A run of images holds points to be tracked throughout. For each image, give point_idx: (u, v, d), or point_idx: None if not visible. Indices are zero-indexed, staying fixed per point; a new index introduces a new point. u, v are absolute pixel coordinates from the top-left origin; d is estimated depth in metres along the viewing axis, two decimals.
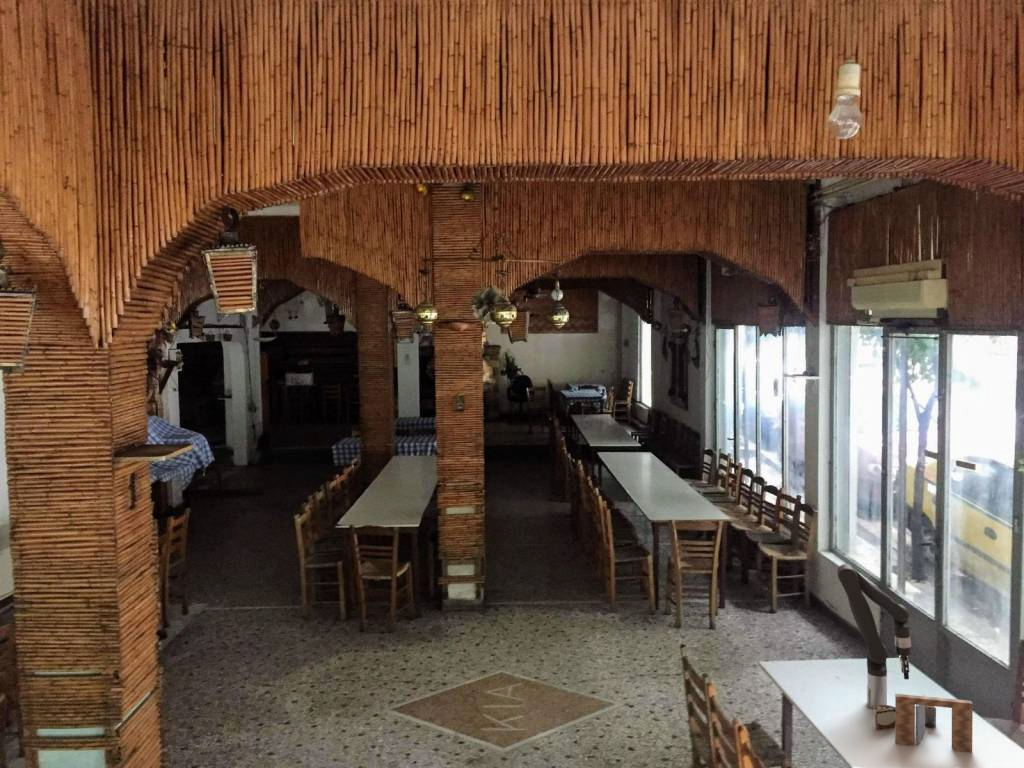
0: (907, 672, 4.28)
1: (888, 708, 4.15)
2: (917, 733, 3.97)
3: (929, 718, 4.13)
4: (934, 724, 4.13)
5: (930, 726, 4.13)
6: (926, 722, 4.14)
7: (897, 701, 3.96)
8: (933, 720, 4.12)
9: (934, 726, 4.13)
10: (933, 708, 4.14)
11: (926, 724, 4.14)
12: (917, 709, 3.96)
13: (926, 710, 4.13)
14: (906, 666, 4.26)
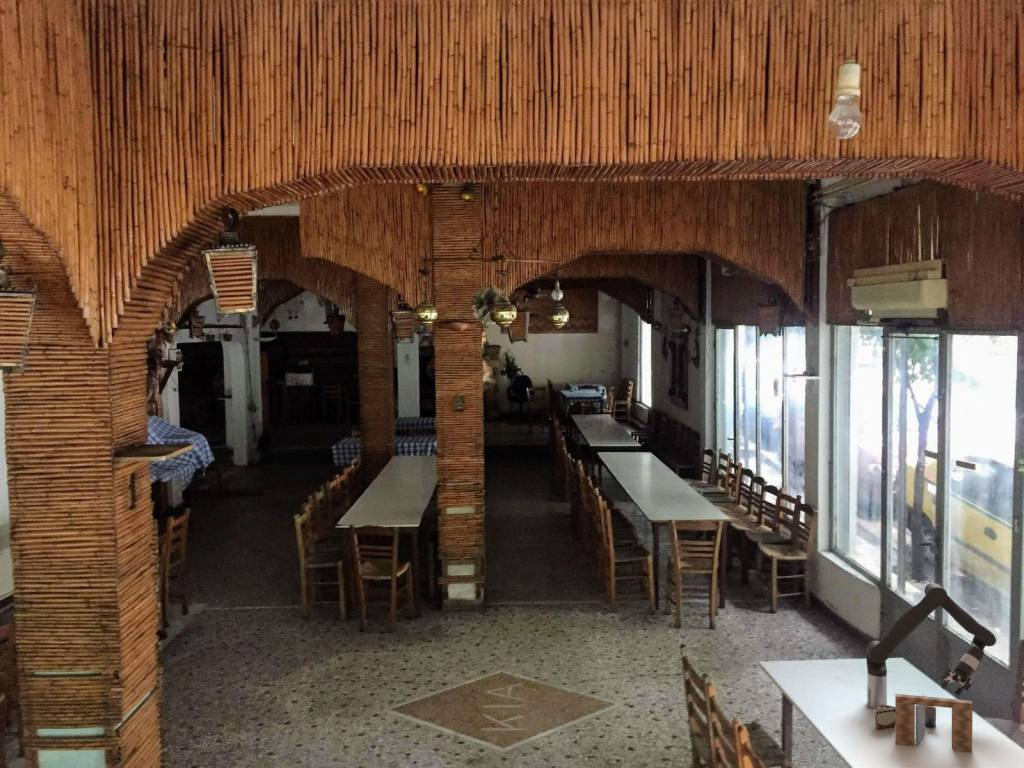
0: (963, 690, 4.13)
1: (888, 708, 4.15)
2: (917, 733, 3.97)
3: (929, 718, 4.13)
4: (934, 724, 4.13)
5: (930, 726, 4.13)
6: (926, 722, 4.14)
7: (897, 701, 3.96)
8: (933, 720, 4.12)
9: (934, 726, 4.13)
10: (933, 708, 4.14)
11: (926, 724, 4.14)
12: (917, 709, 3.96)
13: (926, 710, 4.13)
14: (969, 684, 4.13)
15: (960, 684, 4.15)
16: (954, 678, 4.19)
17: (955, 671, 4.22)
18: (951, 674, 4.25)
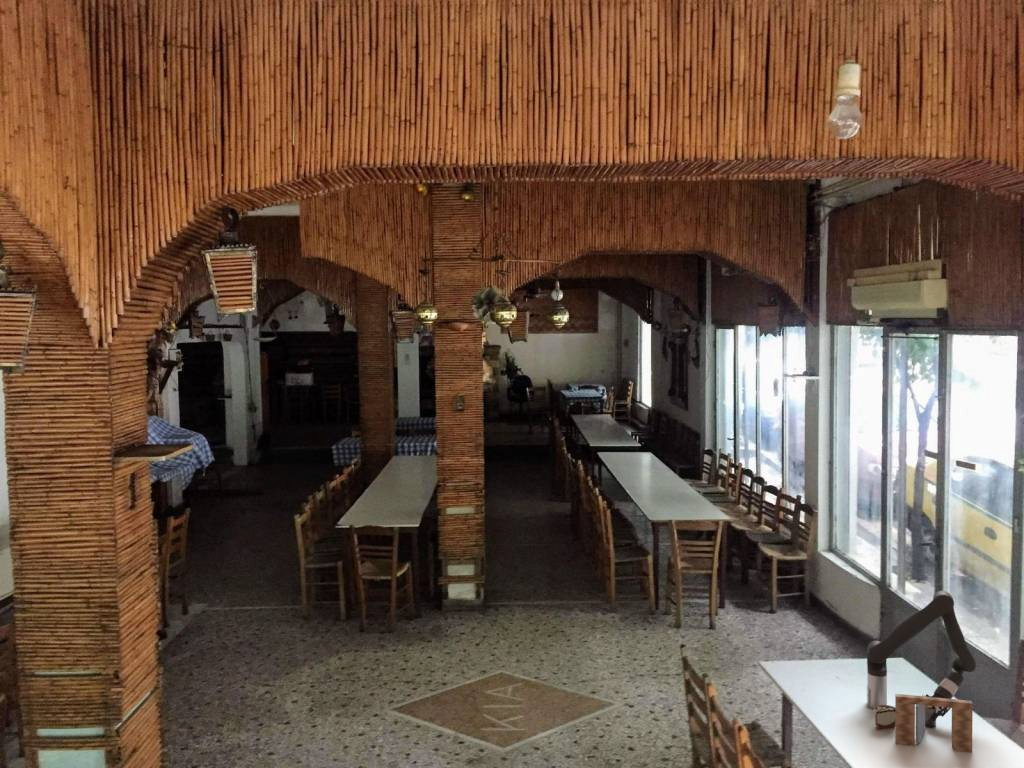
0: (938, 715, 4.11)
1: (888, 708, 4.15)
2: (917, 733, 3.97)
3: (929, 718, 4.13)
4: (934, 724, 4.13)
5: (930, 726, 4.13)
6: (926, 722, 4.14)
7: (897, 701, 3.96)
8: None
9: (934, 726, 4.13)
10: (933, 708, 4.14)
11: (926, 724, 4.14)
12: (917, 709, 3.96)
13: (926, 710, 4.13)
14: (945, 711, 4.10)
15: (936, 709, 4.12)
16: None
17: (934, 696, 4.19)
18: None
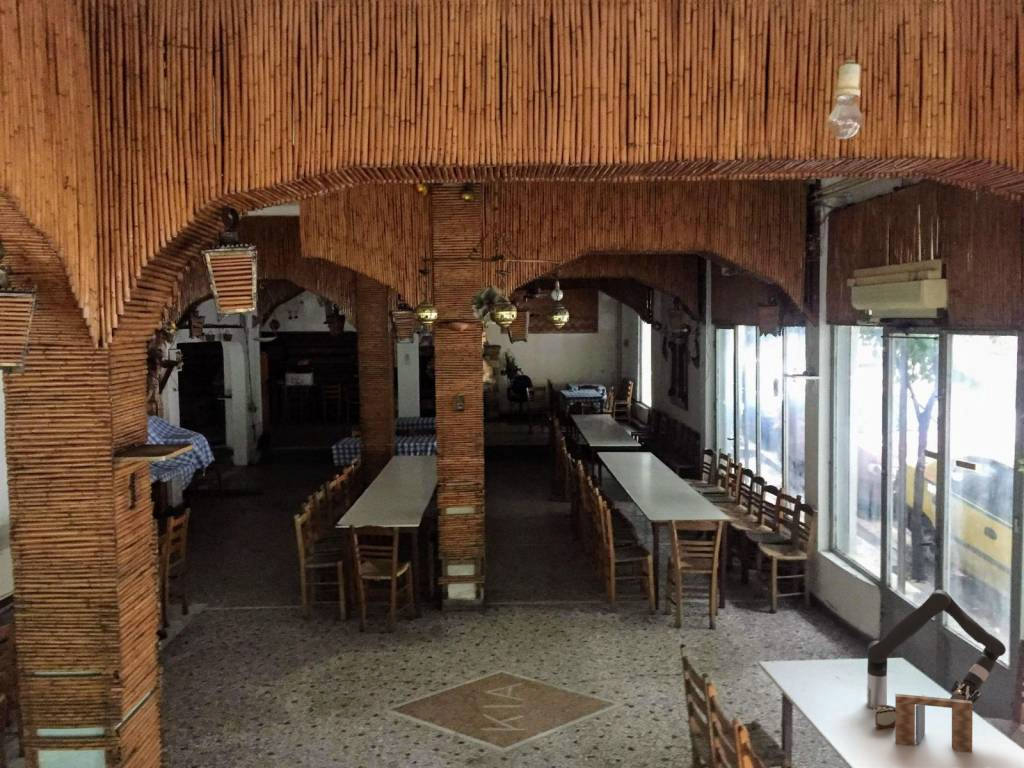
0: None
1: (888, 708, 4.15)
2: (917, 733, 3.97)
3: None
4: None
5: None
6: None
7: (897, 701, 3.96)
8: None
9: None
10: (963, 694, 4.02)
11: None
12: (917, 709, 3.96)
13: (956, 697, 4.01)
14: (976, 697, 3.97)
15: (967, 696, 4.00)
16: (964, 690, 4.04)
17: (963, 682, 4.06)
18: (959, 686, 4.09)
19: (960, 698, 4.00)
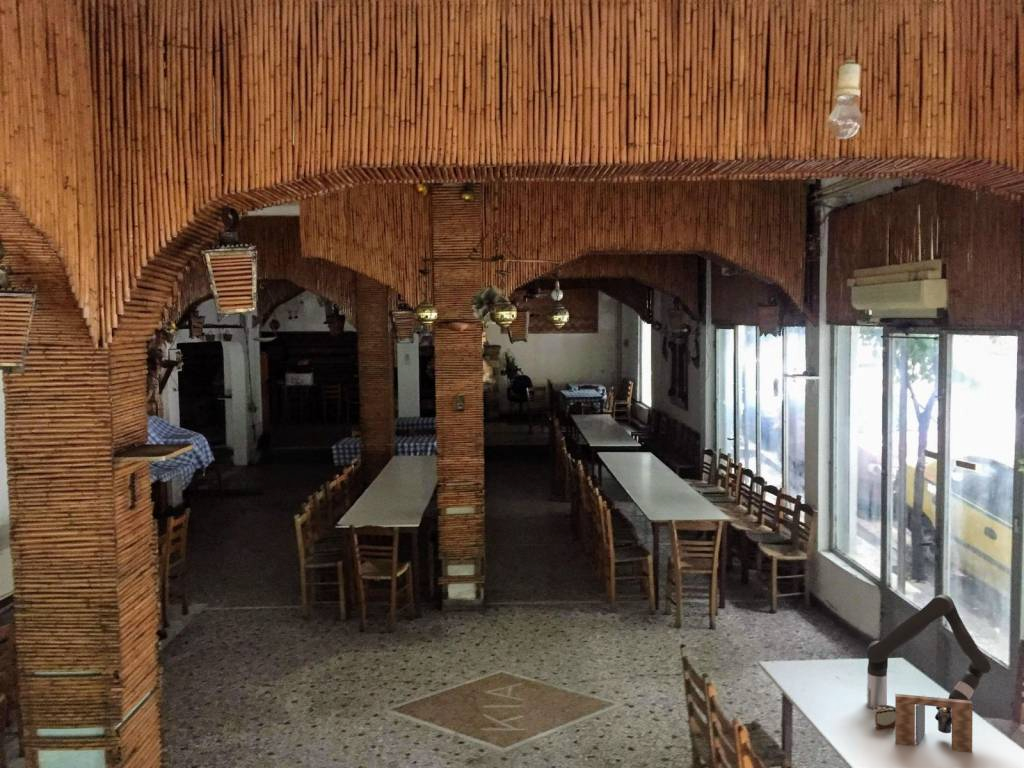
0: None
1: (888, 708, 4.15)
2: (917, 733, 3.97)
3: (944, 723, 3.98)
4: (949, 729, 3.98)
5: (945, 731, 3.98)
6: (941, 727, 3.99)
7: (897, 701, 3.96)
8: None
9: (949, 731, 3.98)
10: (948, 712, 3.99)
11: (941, 728, 3.99)
12: (917, 709, 3.96)
13: (941, 714, 3.99)
14: None
15: (951, 714, 3.98)
16: None
17: None
18: None
19: (945, 716, 3.98)
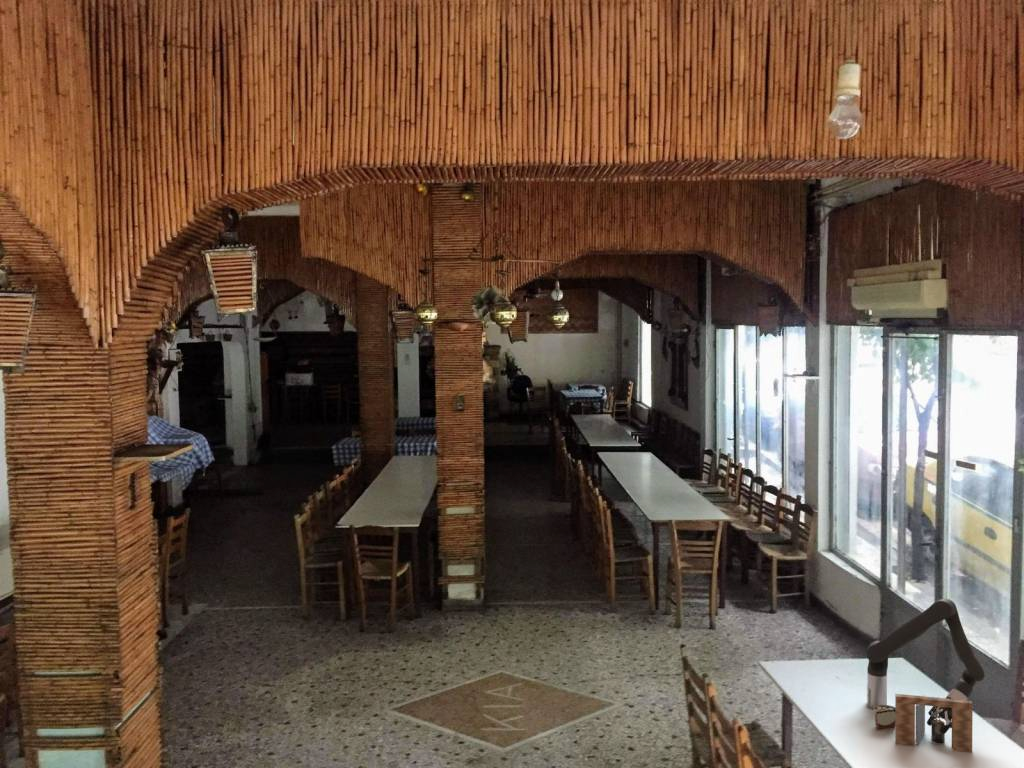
0: (949, 727, 3.95)
1: (888, 708, 4.15)
2: (917, 733, 3.97)
3: (937, 734, 3.97)
4: (943, 739, 3.97)
5: (938, 741, 3.97)
6: (934, 737, 3.98)
7: (897, 701, 3.96)
8: (942, 736, 3.97)
9: (943, 741, 3.97)
10: (942, 723, 3.98)
11: (934, 739, 3.98)
12: (917, 709, 3.96)
13: (934, 725, 3.98)
14: None
15: (947, 721, 3.96)
16: (941, 714, 4.01)
17: (942, 707, 4.03)
18: (938, 710, 4.06)
19: (938, 726, 3.97)
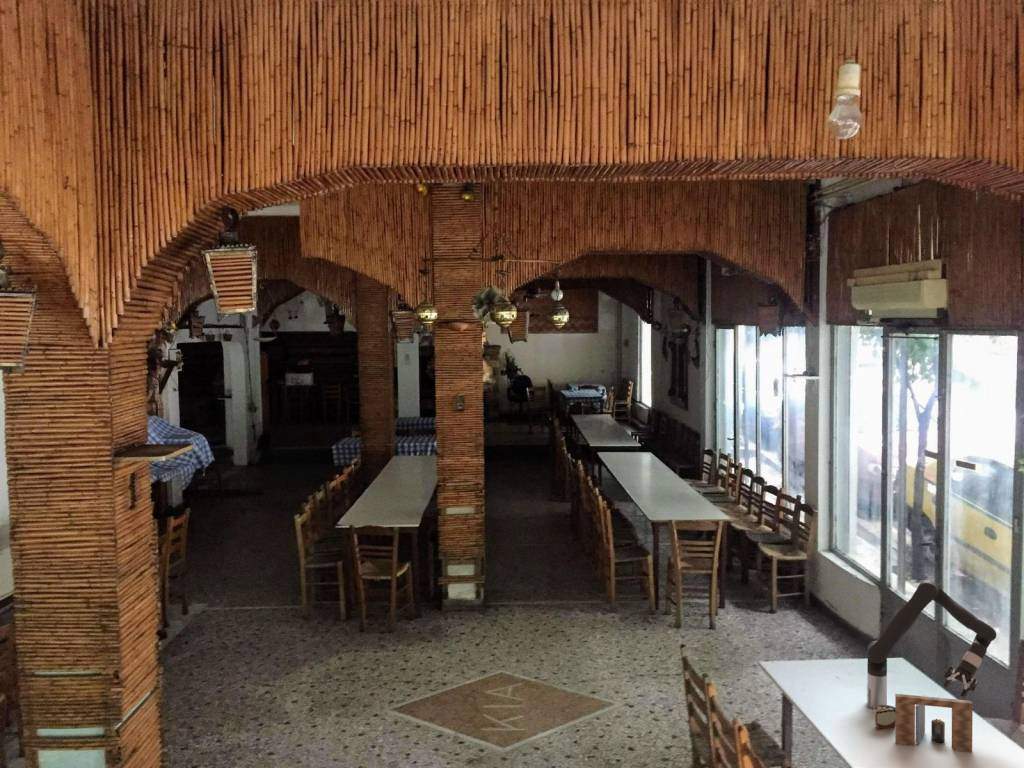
0: (968, 691, 4.02)
1: (888, 708, 4.15)
2: (917, 733, 3.97)
3: (937, 734, 3.97)
4: (943, 739, 3.97)
5: (938, 741, 3.97)
6: (934, 737, 3.98)
7: (897, 701, 3.96)
8: (942, 736, 3.97)
9: (943, 741, 3.97)
10: (942, 723, 3.98)
11: (934, 739, 3.98)
12: (917, 709, 3.96)
13: (934, 725, 3.98)
14: (974, 685, 4.01)
15: (965, 685, 4.03)
16: (958, 678, 4.07)
17: (958, 670, 4.09)
18: None
19: (938, 726, 3.97)
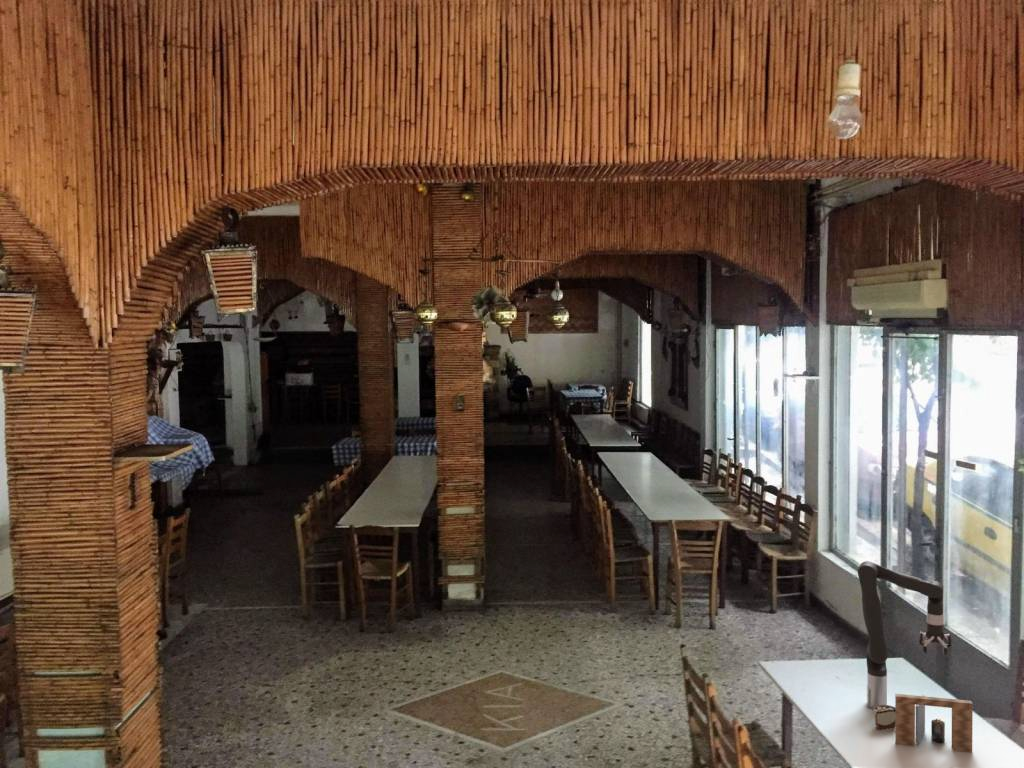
0: None
1: (888, 708, 4.15)
2: (917, 733, 3.97)
3: (937, 734, 3.97)
4: (943, 739, 3.97)
5: (938, 741, 3.97)
6: (934, 737, 3.98)
7: (897, 701, 3.96)
8: (942, 736, 3.97)
9: (943, 741, 3.97)
10: (942, 723, 3.98)
11: (934, 739, 3.98)
12: (917, 709, 3.96)
13: (934, 725, 3.98)
14: None
15: (944, 644, 4.20)
16: (933, 641, 4.21)
17: (929, 633, 4.22)
18: None
19: (938, 726, 3.97)
